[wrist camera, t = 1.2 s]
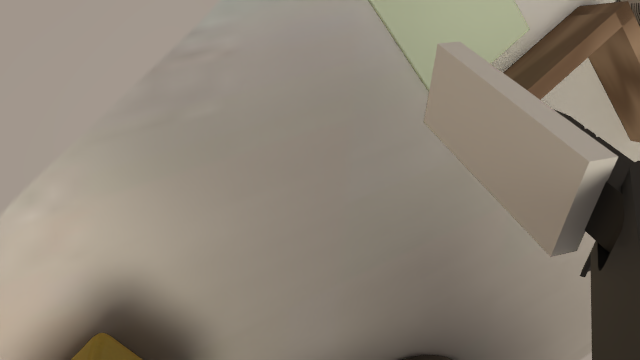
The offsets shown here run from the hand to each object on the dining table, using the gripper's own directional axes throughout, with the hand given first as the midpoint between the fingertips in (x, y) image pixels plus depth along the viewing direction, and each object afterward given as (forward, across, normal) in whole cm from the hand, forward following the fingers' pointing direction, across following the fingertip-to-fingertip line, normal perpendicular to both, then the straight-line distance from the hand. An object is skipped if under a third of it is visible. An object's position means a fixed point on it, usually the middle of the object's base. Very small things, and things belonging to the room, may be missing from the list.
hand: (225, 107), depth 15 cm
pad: (+19, -19, +5) cm, 27 cm away
